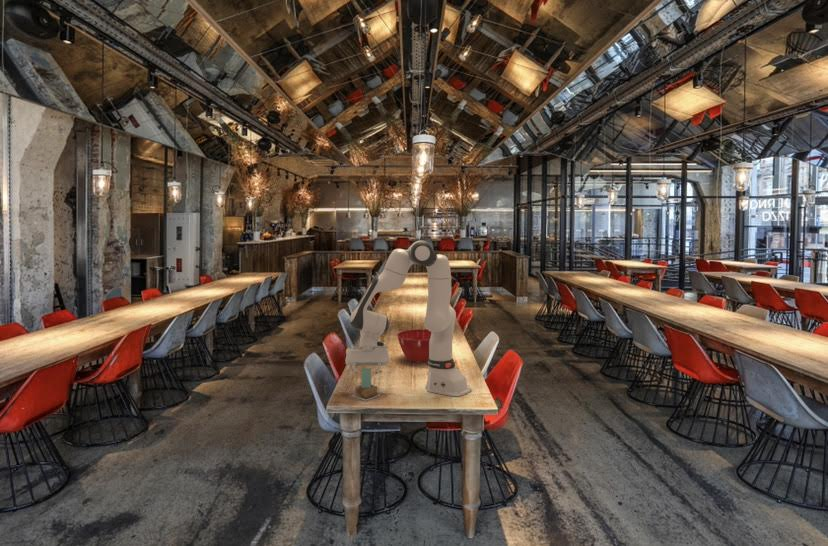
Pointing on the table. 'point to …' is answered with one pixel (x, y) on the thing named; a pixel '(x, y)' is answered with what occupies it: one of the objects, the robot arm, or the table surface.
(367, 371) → the pillar
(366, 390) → the base block
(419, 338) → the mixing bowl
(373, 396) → the board
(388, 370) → the table surface
